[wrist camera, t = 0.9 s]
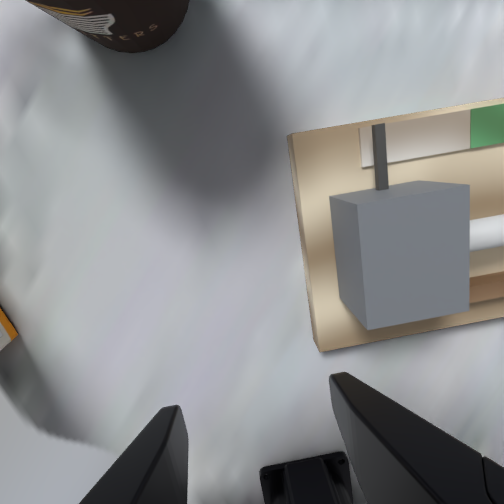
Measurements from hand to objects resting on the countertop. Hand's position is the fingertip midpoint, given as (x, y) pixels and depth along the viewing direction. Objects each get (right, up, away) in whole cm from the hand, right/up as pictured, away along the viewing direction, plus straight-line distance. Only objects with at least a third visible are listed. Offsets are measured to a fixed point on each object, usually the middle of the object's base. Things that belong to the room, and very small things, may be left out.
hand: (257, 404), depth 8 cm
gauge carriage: (+10, +6, +11) cm, 16 cm away
